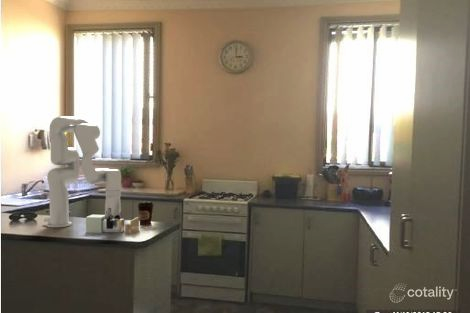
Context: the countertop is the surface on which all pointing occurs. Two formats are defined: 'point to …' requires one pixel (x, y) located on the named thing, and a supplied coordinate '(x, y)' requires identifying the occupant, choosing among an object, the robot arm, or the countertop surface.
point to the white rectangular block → (114, 225)
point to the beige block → (132, 226)
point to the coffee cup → (145, 212)
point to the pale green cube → (94, 223)
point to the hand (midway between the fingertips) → (113, 226)
